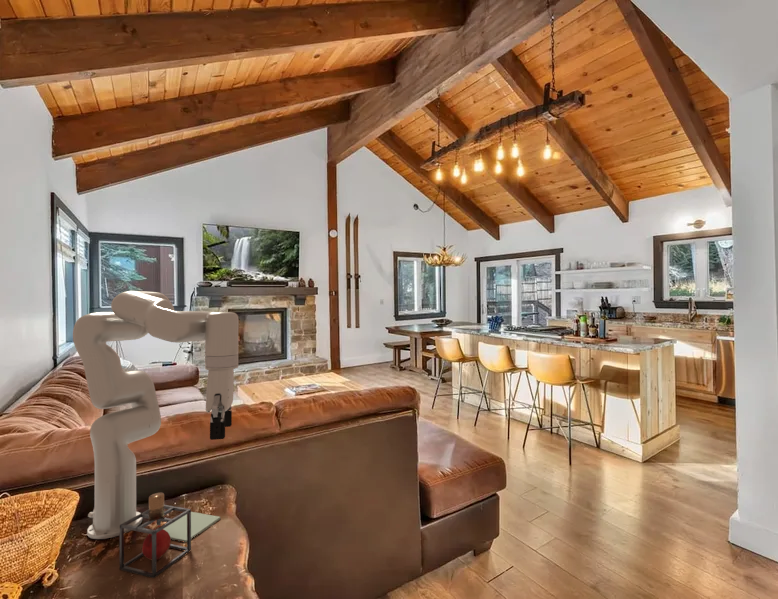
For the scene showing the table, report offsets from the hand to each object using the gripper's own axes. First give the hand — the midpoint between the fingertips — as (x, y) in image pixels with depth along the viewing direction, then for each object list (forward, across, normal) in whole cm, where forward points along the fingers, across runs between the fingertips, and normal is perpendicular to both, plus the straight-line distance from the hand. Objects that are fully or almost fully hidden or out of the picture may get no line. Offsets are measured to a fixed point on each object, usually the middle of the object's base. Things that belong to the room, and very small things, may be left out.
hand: (221, 432), depth 95 cm
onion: (+30, -2, -15) cm, 34 cm away
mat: (+30, -16, -11) cm, 36 cm away
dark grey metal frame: (+30, -2, -15) cm, 33 cm away
